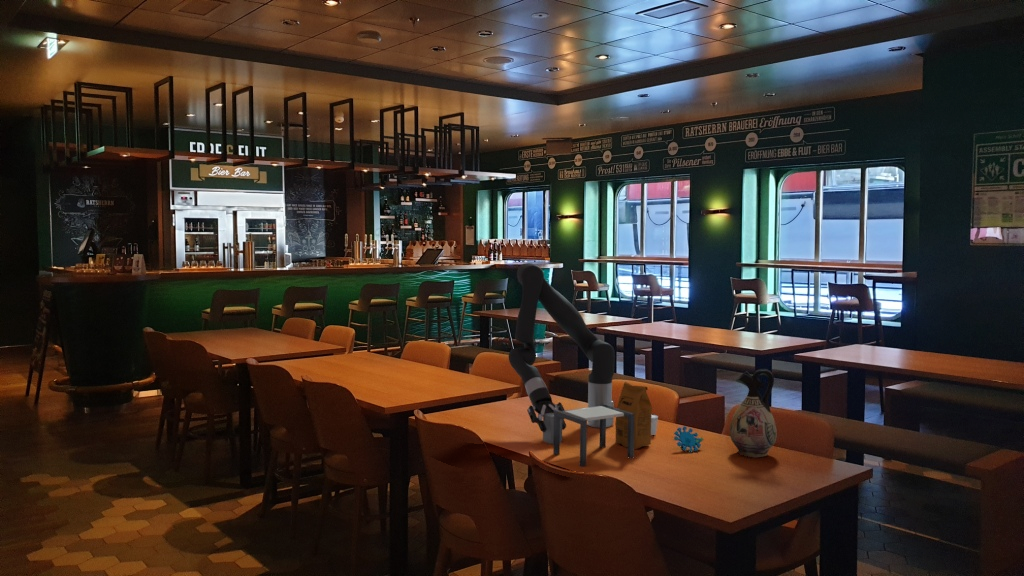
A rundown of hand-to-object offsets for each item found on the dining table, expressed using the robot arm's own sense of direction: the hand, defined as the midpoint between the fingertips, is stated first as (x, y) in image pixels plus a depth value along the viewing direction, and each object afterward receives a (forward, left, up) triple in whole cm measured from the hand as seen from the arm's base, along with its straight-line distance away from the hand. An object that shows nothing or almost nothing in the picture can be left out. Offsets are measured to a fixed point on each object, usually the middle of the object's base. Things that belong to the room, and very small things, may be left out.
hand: (554, 429), depth 277 cm
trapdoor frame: (-2, +21, -5) cm, 21 cm away
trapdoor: (-2, +20, +9) cm, 22 cm away
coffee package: (-23, +16, -5) cm, 28 cm away
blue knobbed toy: (-36, +30, -5) cm, 47 cm away
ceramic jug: (-52, +46, -5) cm, 69 cm away
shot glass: (-38, +7, -5) cm, 39 cm away
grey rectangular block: (0, -1, -5) cm, 5 cm away
